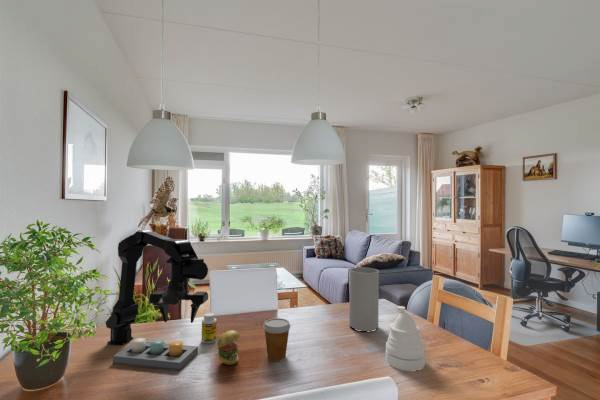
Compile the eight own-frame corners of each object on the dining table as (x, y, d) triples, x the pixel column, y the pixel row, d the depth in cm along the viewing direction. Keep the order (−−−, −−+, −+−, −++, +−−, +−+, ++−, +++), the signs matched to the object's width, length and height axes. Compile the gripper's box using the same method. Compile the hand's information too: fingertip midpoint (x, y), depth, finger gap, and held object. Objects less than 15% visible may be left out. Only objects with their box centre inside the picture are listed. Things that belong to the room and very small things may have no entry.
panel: (112, 363, 106) (112, 356, 106) (136, 348, 118) (137, 340, 118) (179, 370, 102) (179, 362, 102) (197, 353, 114) (198, 346, 114)
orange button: (166, 355, 107) (166, 346, 107) (173, 349, 111) (173, 340, 111) (178, 357, 106) (178, 347, 106) (185, 351, 111) (185, 341, 111)
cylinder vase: (356, 320, 149) (357, 266, 150) (382, 326, 142) (383, 269, 142) (344, 328, 139) (344, 270, 140) (371, 335, 132) (371, 274, 132)
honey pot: (377, 356, 113) (378, 305, 113) (406, 350, 118) (406, 301, 119) (403, 374, 101) (403, 317, 102) (433, 366, 106) (433, 312, 107)
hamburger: (234, 369, 103) (234, 331, 104) (213, 367, 104) (213, 330, 105) (242, 358, 111) (242, 323, 111) (222, 356, 112) (223, 321, 112)
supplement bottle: (203, 345, 121) (204, 317, 121) (199, 339, 126) (200, 313, 126) (218, 341, 124) (218, 315, 124) (213, 336, 129) (214, 311, 129)
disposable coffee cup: (293, 353, 115) (294, 319, 115) (284, 365, 106) (284, 329, 106) (269, 349, 118) (270, 316, 118) (258, 360, 109) (258, 325, 109)
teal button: (147, 353, 108) (147, 344, 108) (155, 348, 112) (155, 339, 112) (159, 355, 107) (159, 345, 107) (166, 349, 112) (166, 340, 112)
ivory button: (128, 352, 109) (128, 342, 109) (137, 346, 114) (137, 337, 114) (140, 353, 109) (140, 343, 109) (148, 347, 113) (148, 338, 113)
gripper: (140, 281, 103) (139, 330, 103) (197, 282, 102) (196, 332, 102) (157, 274, 114) (157, 318, 114) (209, 275, 113) (208, 319, 113)
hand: (178, 322), depth 110 cm, fingers open, 9 cm apart
